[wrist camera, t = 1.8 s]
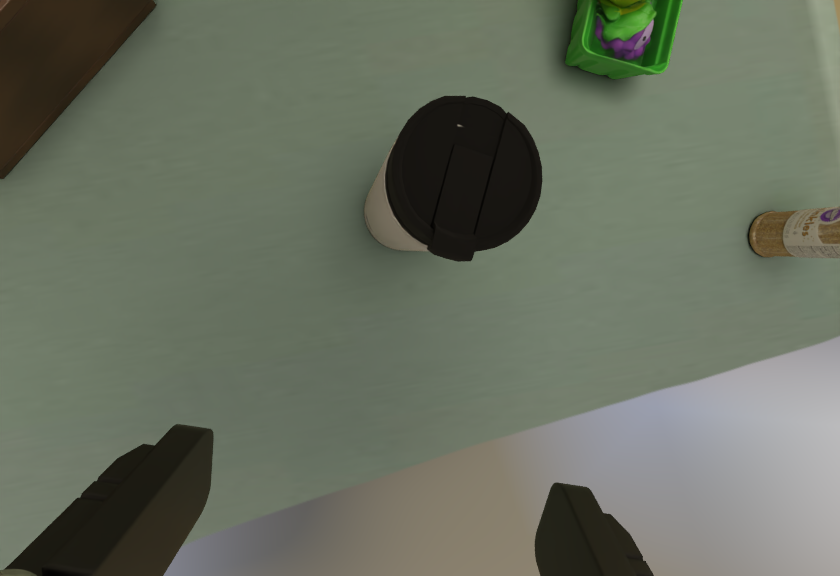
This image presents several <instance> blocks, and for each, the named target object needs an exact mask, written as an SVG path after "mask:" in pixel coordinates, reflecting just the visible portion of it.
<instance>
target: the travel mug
mask: <svg viewBox="0 0 840 576" xmlns="http://www.w3.org/2000/svg"><path fill="white" fill-rule="evenodd" d="M541 187H542V166H541V161H540V157H539V152H538V150H537V147H536V145H535V142H534V140H533V138H532V136H531V135H530V133H529V131H528V130H527V128H526V127H525V125H524V124H522V123H521V122H520V121H519V120H518V119H516V118H515V117H514V116H513V115H512V114H510V113H509V112H508V113H507V114H506V113H505V111H504V110H503V109H502V108H501V107H500V106H498V105H496V104H494V103H492V102H490V101H488V100H484V99H480V98H477V97H467V98H466V96H444V97H441V98H438V99H436V100H433V101H431V102H429V103H428V104H426V105H425V106H423V107H421V108H420V109H419V110H418V111H417V112H416V113H415V114H414V115H413V116H412V117H411V118H410V119H409V120H408V121H407V123H406V124H405V126H404V128H403V129H402V131H401V132H400V134H399V136H398V138H397V139H396V141H395V142H394V144H393V146H392V147H391V149H390V151H389V153H388V155H387V157H386V159H385V161H384V163H383V165H382V167H381V169H380V171H379V173H378V175H377V177H376V179H375V181H374V183H373V185H372V187H371V189H370V191H369V193H368V196H367V198H366V201H365V206H364V218H365V222H366V225H367V227H368V230H369V232H370V233H371V234H372V236H373V237H374V238H375V239H376V240H377V241H378V242H379V243H381V244H382V245H384V246H386V247H388V248H391V249H395V250H404V251H430V252H431V253H433V254H434V255H437V256H440V257H443V258H446V259H450V260H454V261H471V260H472V258H473V255H474V252H475V251H483V250H487V249H491V248H495V247H497V246H499V245H502V244H504V243H506V242H508V241H509V240H511V239H512V238H513V237H514V236H516V235H517V234H518V233H520V231H521V230H522V229H523V228H524V227H525V226H526V225H527V223H528V222H529V220H530V219H531V217H532V215H533V213H534V212H535V210H536V207H537V204H538V201H539V198H540V194H541Z"/></svg>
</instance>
